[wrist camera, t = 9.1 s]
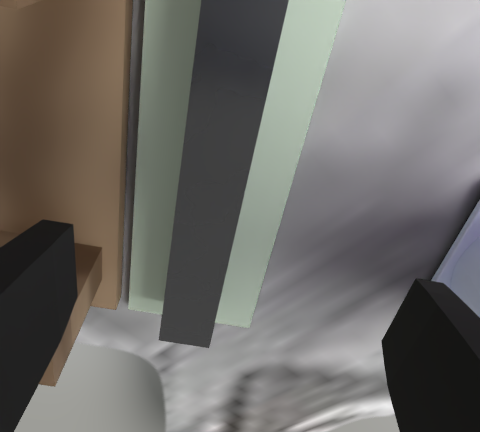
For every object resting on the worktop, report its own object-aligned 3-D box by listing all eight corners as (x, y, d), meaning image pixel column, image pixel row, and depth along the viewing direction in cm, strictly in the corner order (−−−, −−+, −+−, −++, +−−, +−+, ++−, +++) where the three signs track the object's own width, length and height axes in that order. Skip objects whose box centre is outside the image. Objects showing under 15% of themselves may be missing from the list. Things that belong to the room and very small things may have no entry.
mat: (386, -146, 12) (389, -147, 12) (249, 322, 24) (249, 328, 23) (159, -201, 12) (156, -204, 12) (130, 303, 23) (128, 309, 23)
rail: (308, -116, 12) (317, -123, 10) (213, 310, 23) (208, 347, 21) (226, -136, 12) (219, -147, 10) (167, 303, 22) (158, 340, 20)
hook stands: (140, -181, 12) (36, -268, 6) (121, 295, 23) (75, 418, 17) (-83, -234, 12) (-399, -376, 6) (4, 277, 22) (-81, 397, 17)
